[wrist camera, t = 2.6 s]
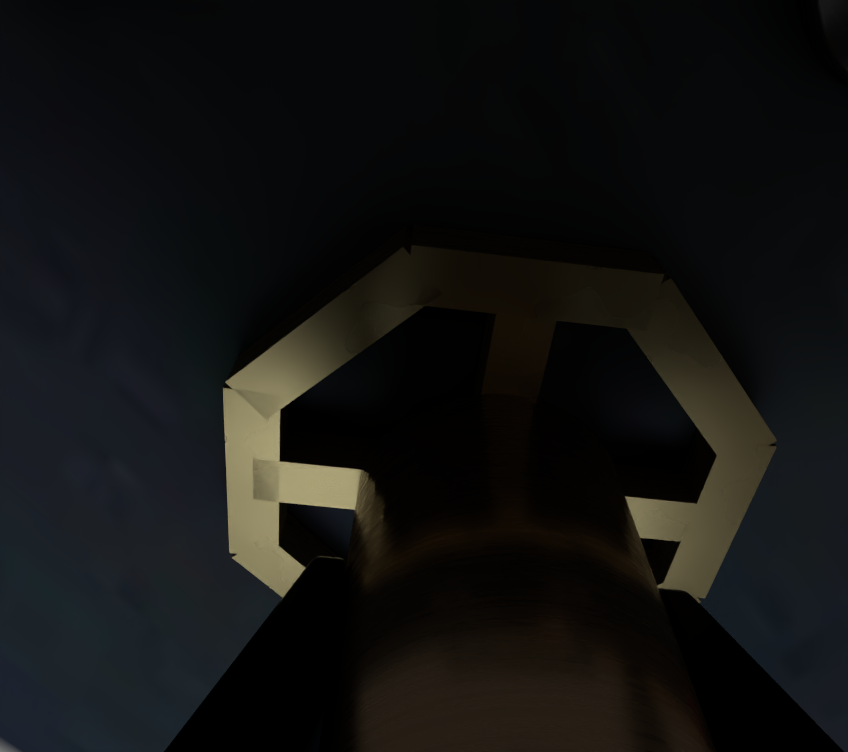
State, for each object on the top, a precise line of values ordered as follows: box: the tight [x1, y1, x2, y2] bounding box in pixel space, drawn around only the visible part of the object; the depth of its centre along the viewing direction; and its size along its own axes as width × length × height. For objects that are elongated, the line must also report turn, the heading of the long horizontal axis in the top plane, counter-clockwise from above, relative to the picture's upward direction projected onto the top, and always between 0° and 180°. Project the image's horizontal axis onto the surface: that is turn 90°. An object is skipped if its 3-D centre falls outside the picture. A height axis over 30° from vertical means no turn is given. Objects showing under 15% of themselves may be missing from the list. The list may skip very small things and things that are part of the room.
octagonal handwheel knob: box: [223, 224, 777, 752], centre depth 8 cm, size 8×8×7 cm
